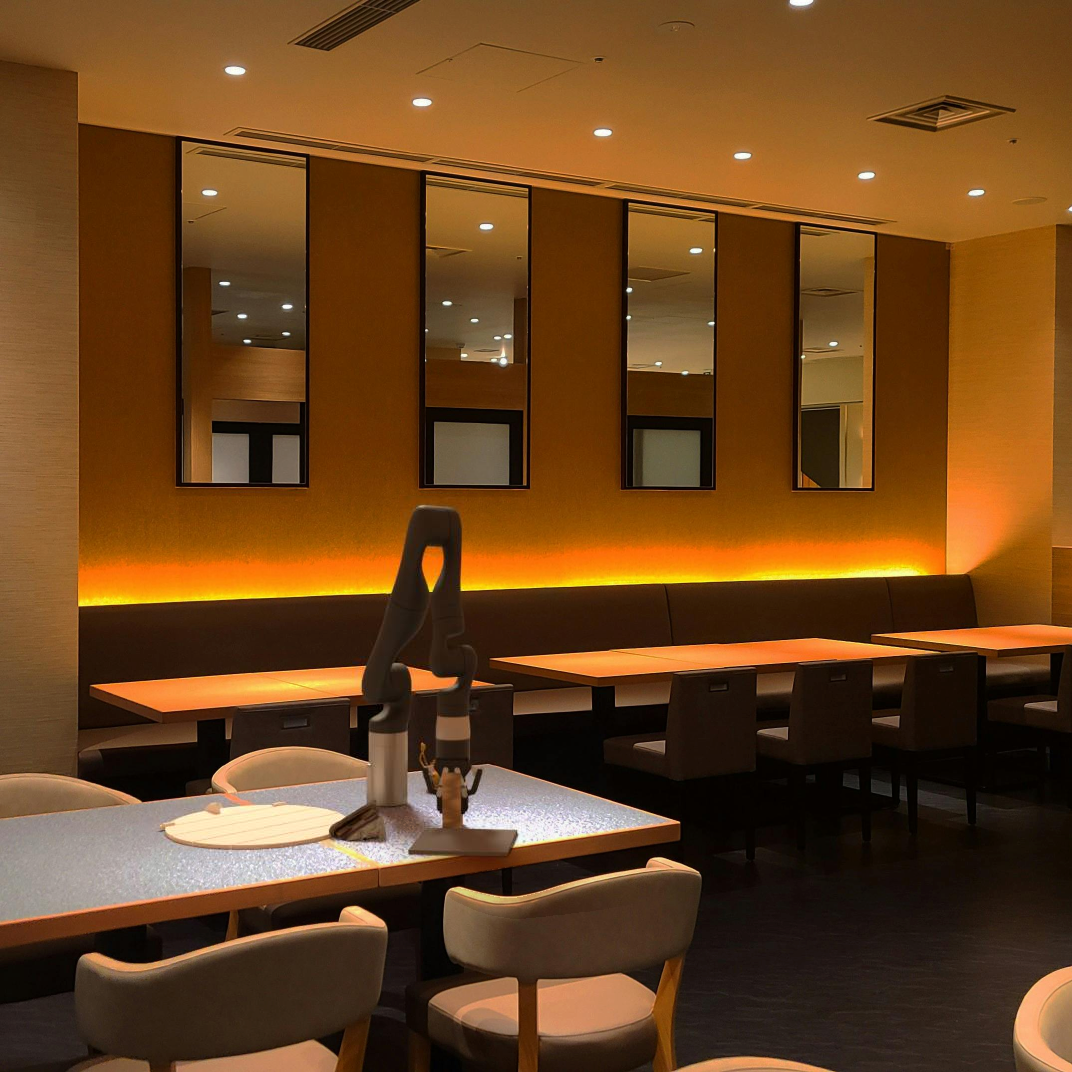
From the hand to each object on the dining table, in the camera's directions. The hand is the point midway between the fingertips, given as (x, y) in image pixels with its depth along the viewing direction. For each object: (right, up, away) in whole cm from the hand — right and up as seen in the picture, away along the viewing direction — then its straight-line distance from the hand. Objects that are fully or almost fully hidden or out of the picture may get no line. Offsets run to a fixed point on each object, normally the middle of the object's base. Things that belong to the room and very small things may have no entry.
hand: (452, 813), depth 289 cm
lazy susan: (-43, -3, -2) cm, 43 cm away
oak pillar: (0, -3, 0) cm, 3 cm away
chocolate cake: (-19, -3, -11) cm, 22 cm away
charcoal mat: (+4, -3, -16) cm, 17 cm away
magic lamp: (-6, -3, +39) cm, 39 cm away
